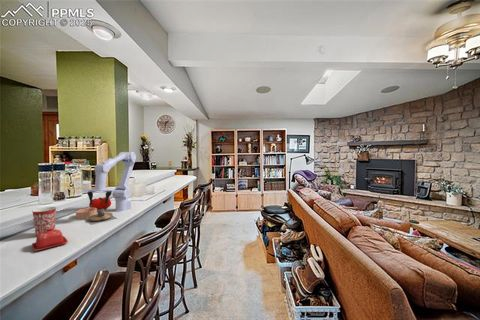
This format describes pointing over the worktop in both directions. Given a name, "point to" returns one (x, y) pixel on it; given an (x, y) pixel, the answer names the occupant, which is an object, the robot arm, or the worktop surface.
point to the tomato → (100, 203)
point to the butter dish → (49, 239)
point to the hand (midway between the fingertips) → (98, 204)
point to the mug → (44, 219)
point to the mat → (100, 221)
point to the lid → (100, 216)
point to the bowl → (85, 213)
